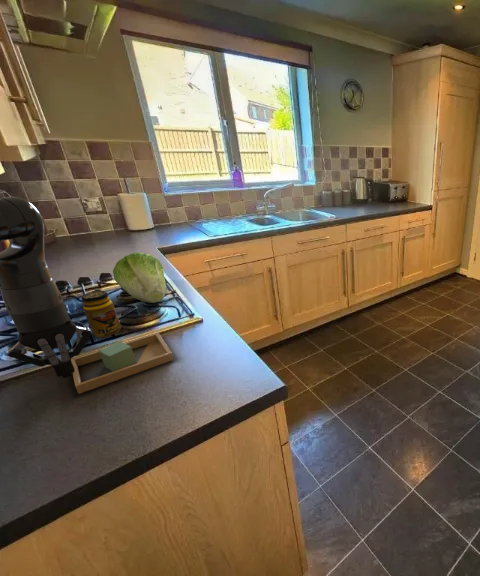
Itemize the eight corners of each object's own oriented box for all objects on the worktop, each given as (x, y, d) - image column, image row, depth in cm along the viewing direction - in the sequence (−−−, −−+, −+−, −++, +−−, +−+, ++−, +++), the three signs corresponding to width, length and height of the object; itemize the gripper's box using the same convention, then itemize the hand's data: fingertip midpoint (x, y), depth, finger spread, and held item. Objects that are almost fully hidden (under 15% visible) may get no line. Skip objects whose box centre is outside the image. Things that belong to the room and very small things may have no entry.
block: (115, 372, 74) (109, 356, 73) (104, 366, 76) (98, 350, 75) (136, 362, 78) (131, 346, 76) (126, 356, 80) (120, 341, 78)
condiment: (115, 339, 88) (101, 299, 83) (78, 342, 86) (62, 301, 81) (128, 325, 94) (116, 287, 89) (95, 328, 92) (80, 289, 88)
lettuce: (184, 307, 111) (133, 324, 103) (164, 276, 126) (118, 288, 117) (172, 272, 103) (116, 287, 95) (153, 243, 118) (103, 253, 109)
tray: (79, 396, 68) (75, 386, 67) (73, 368, 76) (69, 359, 75) (174, 361, 80) (172, 352, 79) (160, 340, 88) (158, 332, 87)
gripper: (77, 288, 71) (102, 355, 78) (-15, 307, 62) (22, 381, 69) (83, 300, 66) (109, 369, 73) (-16, 322, 57) (24, 399, 64)
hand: (67, 375), depth 71 cm, fingers closed
